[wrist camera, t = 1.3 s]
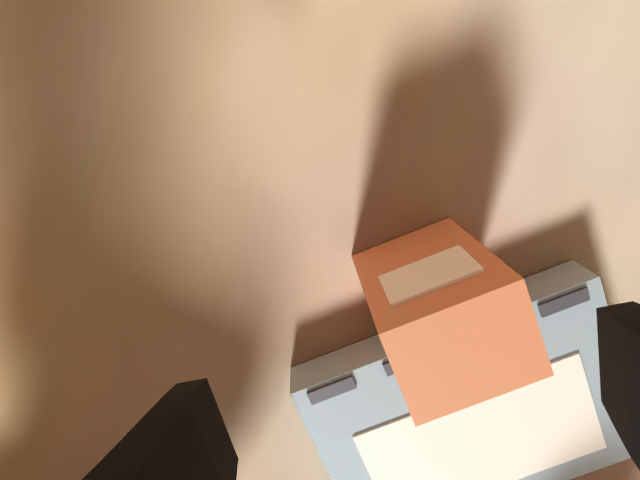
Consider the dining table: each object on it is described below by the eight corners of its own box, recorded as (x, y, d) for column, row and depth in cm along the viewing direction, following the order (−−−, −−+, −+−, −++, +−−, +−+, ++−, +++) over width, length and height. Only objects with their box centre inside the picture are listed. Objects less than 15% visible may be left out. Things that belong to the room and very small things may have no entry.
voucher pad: (359, 516, 24) (365, 556, 22) (290, 367, 22) (290, 396, 20) (618, 422, 23) (649, 454, 21) (572, 259, 21) (602, 277, 19)
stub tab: (378, 321, 22) (415, 426, 15) (350, 253, 21) (376, 331, 14) (472, 285, 21) (554, 375, 15) (448, 215, 21) (522, 275, 14)
